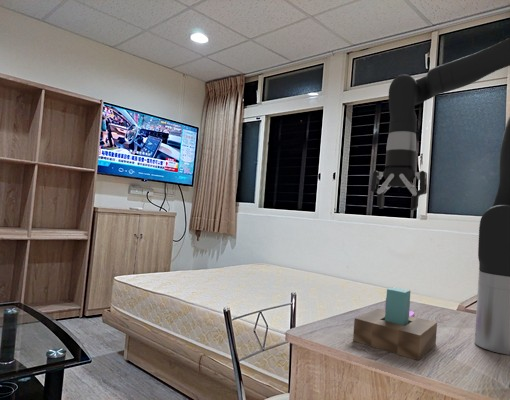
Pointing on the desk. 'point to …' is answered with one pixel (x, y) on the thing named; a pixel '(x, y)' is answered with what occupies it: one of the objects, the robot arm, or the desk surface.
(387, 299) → the peg
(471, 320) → the desk surface
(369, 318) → the socket block
